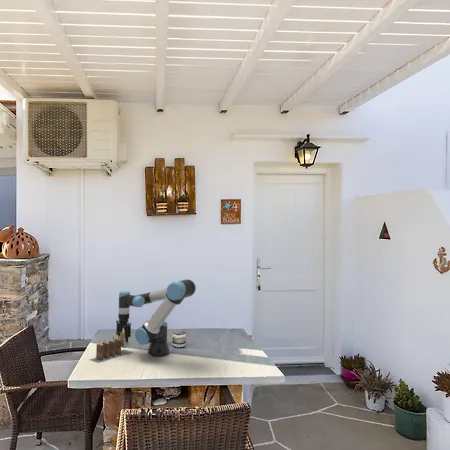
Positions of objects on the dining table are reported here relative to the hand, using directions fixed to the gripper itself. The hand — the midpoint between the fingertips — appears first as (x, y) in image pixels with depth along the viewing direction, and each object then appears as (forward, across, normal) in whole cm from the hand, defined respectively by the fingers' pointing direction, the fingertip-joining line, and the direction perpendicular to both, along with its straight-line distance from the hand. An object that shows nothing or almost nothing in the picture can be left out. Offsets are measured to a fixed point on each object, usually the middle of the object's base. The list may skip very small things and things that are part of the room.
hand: (123, 345), depth 299 cm
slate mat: (+5, 0, +10) cm, 11 cm away
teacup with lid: (+6, +19, -13) cm, 24 cm away
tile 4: (+5, 0, +15) cm, 16 cm away
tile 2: (+5, 0, +5) cm, 7 cm away
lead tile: (+1, 0, 0) cm, 1 cm away
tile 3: (+5, 0, +10) cm, 11 cm away
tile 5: (+5, 0, +20) cm, 21 cm away
